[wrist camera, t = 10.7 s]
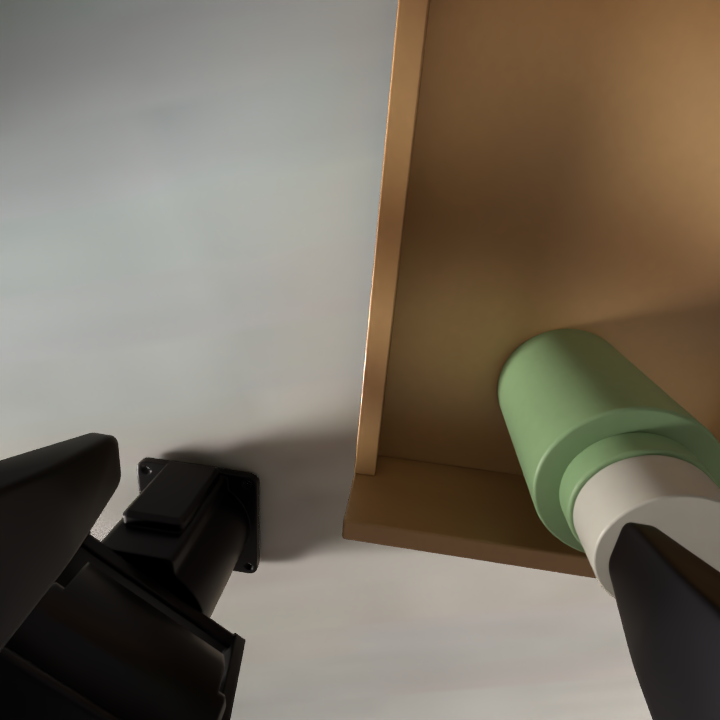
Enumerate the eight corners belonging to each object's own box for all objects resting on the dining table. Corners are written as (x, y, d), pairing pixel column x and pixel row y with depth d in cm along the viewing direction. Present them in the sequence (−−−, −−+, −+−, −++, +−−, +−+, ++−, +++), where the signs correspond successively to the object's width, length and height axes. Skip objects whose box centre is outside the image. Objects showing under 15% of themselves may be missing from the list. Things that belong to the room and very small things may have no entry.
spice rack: (669, 468, 21) (790, 610, 14) (366, 427, 22) (341, 539, 15) (871, -39, 14) (1302, -247, 7) (415, -60, 15) (410, -256, 8)
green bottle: (605, 446, 17) (748, 654, 10) (486, 430, 18) (535, 619, 10) (641, 335, 16) (848, 482, 8) (510, 320, 16) (589, 447, 8)
